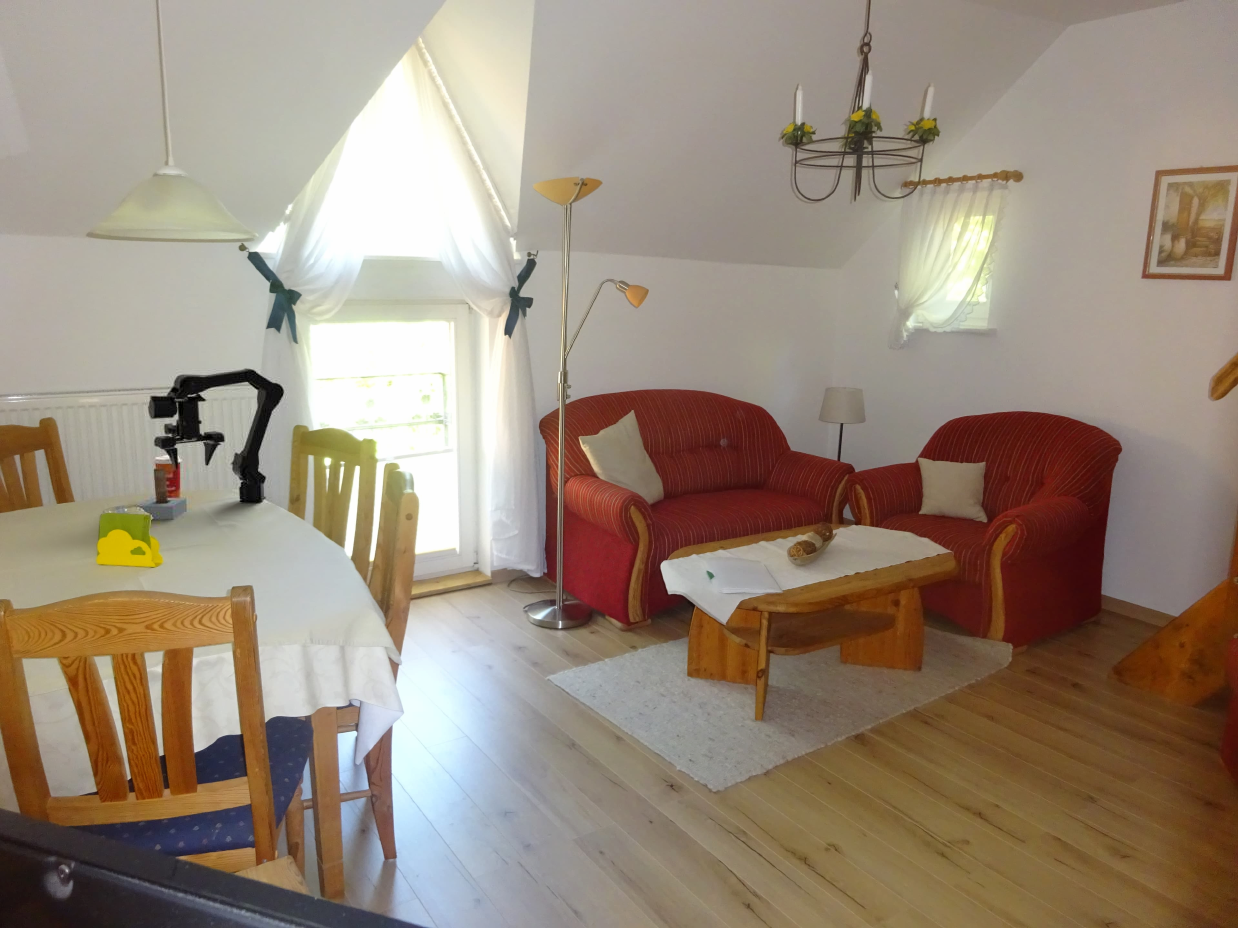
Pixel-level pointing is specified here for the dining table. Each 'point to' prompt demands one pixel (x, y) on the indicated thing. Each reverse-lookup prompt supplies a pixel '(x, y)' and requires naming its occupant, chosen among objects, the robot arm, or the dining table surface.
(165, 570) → the dining table surface
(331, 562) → the dining table surface
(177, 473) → the paper cup
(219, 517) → the dining table surface
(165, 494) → the dowel
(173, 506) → the socket block
